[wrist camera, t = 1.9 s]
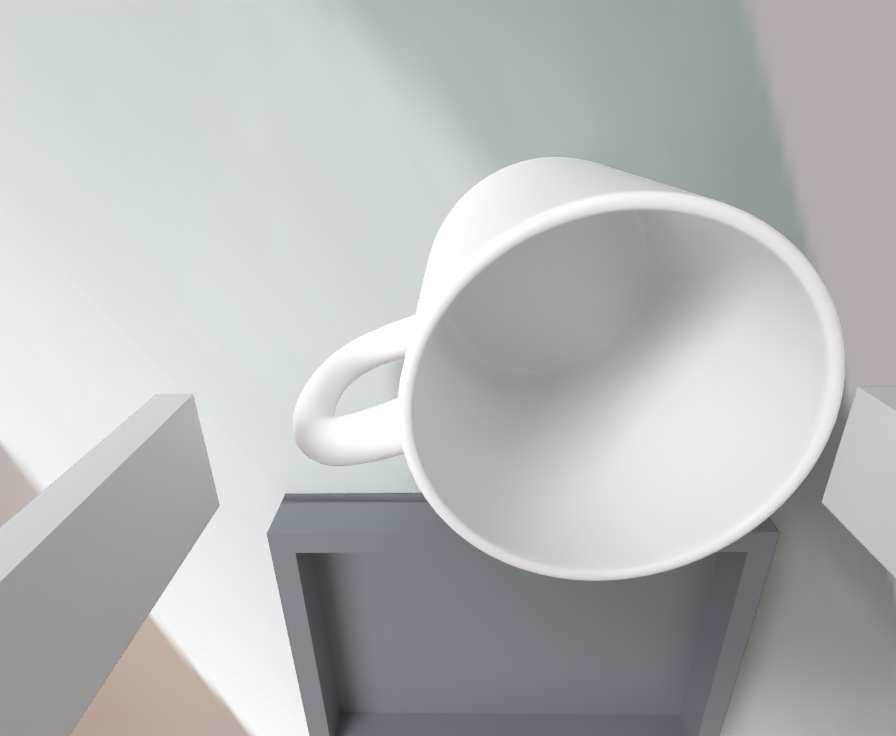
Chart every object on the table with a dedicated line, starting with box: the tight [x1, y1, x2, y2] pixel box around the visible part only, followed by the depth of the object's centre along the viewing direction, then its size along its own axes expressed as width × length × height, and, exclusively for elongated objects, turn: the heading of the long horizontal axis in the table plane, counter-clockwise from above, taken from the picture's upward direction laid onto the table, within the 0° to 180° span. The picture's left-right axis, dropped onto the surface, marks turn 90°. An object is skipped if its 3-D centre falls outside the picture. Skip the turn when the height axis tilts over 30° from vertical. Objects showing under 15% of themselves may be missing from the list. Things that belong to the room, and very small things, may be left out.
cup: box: [293, 157, 846, 581], centre depth 15 cm, size 8×12×10 cm
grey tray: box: [267, 493, 780, 736], centre depth 25 cm, size 15×20×2 cm
